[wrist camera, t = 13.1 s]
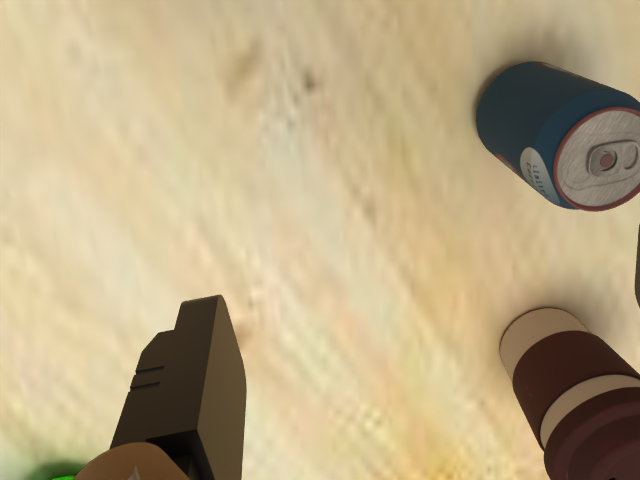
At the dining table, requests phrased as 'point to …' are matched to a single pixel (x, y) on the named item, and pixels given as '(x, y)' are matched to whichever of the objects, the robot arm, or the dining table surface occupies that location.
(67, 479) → the plastic bottle
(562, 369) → the coffee cup
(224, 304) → the robot arm
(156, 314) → the dining table surface
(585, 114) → the soda can
